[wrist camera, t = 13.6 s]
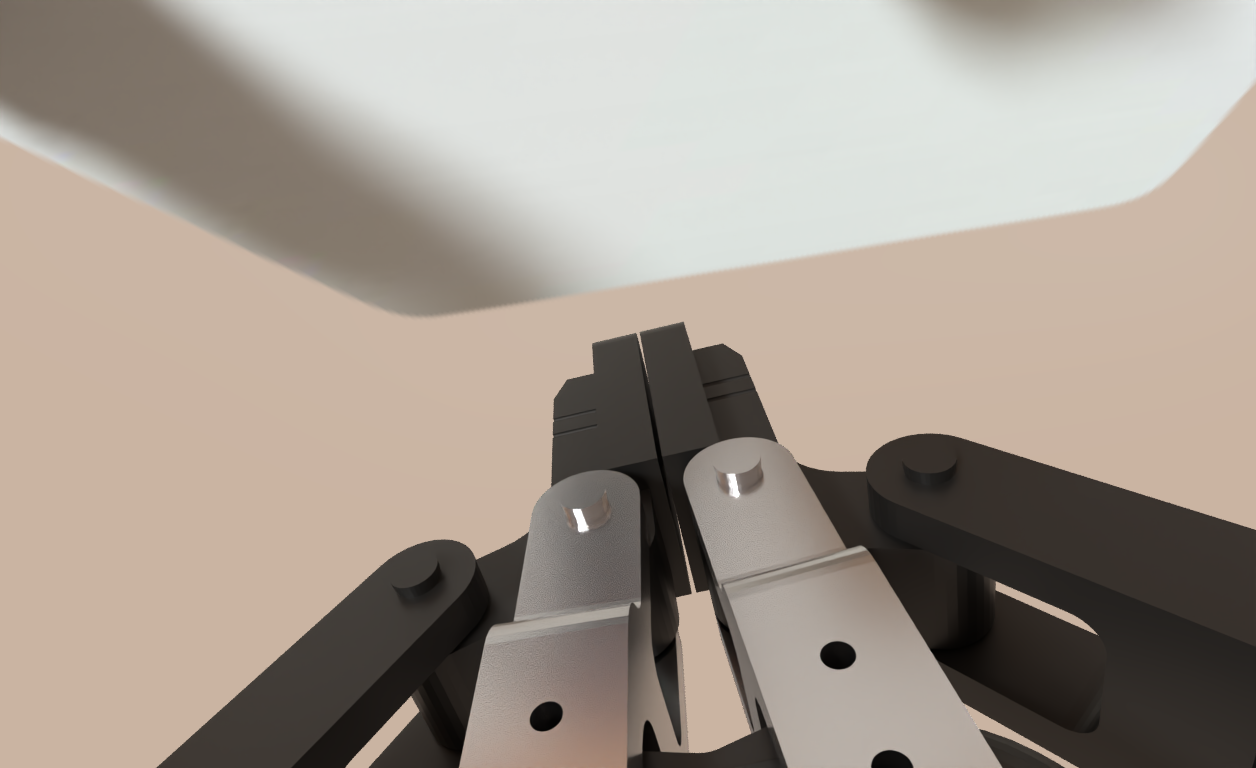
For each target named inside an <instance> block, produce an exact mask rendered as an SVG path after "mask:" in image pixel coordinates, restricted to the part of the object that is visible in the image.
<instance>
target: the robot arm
mask: <svg viewBox="0 0 1256 768" xmlns="http://www.w3.org/2000/svg"><path fill="white" fill-rule="evenodd" d="M640 336H641V342H642V347H643V353H644V358H645V363H646V369H647V374H646V370H645V365H644V362H643V358H642V353H641V349H640V345H639V341H638V338H637V334H636V333H634V334H630V335H626V336H621V337H617V338H613V339H609V340H604V341H600V342H596V343H593V344H592V349H593V365H594V374H590V375H586V376H582V377H577V378H573V379H569V380H567V381H566V382H565V384H564V385H563V387H562V388H561V390H560V391H559V393H558V394H557V396H556V397H555V399H554V415H553V419H554V422H553V436H554V438H553V448H552V483H551V488H550V489H548V490H547V491H546V492H545V493H544V494H543V495H542V496H541V498H540V499H539V500H538V501H537V503H536V505H535V507H534V509H533V513H532V517H531V523H530V529H529V532H528V533H527V534H525V535H524V536H523V537H521V538H520V539H518V540H516V541H515V542H513V543H511V544H509V545H507V546H505V547H503V548H501V549H499V550H496V551H494V552H492V553H490V554H488V555H486V556H484V557H481V558H479V559H477V560H476V559H475V557H474V555H473V553H472V551H471V550H470V549H469V548H468V547H467V546H466V545H464V544H462V543H460V542H457V541H453V540H433V541H428V542H424V543H421V544H417V545H415V546H413V547H410V548H407V549H406V550H403V551H402V552H400V553H398V554H396V555H395V556H393V557H392V558H390V559H389V560H388V561H386V562H385V563H384V564H383V565H381V566H380V567H379V568H378V569H377V570H376V571H375V572H374V573H373V574H372V575H370V576H369V577H368V578H367V579H366V580H365V581H364V582H363V583H362V584H360V585H359V586H358V587H357V588H356V589H355V590H354V591H353V592H352V593H350V594H349V595H348V596H347V597H346V598H345V599H344V600H343V601H341V603H339V604H338V605H337V606H336V607H335V608H334V609H333V610H331V611H330V612H329V613H328V614H327V615H326V616H325V617H324V618H323V619H321V620H320V621H319V622H318V623H317V624H316V625H315V626H314V627H313V628H311V629H310V630H309V631H308V632H307V633H306V634H305V635H304V636H302V638H300V639H299V640H298V641H297V642H296V643H295V644H294V645H292V646H291V647H290V648H289V649H288V650H287V651H286V652H285V653H284V654H283V655H281V656H280V657H279V658H278V659H277V660H276V661H275V662H274V663H273V664H271V665H270V666H269V667H268V668H267V669H266V670H265V671H264V672H263V673H262V674H261V675H259V676H258V677H257V678H256V679H255V680H254V681H252V682H251V683H250V684H249V685H248V686H247V687H246V688H245V689H244V690H242V691H241V692H240V693H239V694H238V695H237V696H236V697H235V698H234V699H233V700H231V701H230V702H229V703H228V704H227V705H226V706H225V707H223V708H222V709H221V710H220V711H219V712H218V713H217V714H216V715H215V716H213V717H212V718H211V719H210V720H209V721H208V722H207V723H206V724H205V725H203V726H202V727H201V728H200V729H199V730H198V731H197V732H196V733H195V734H193V735H192V736H191V737H190V738H189V739H188V740H187V741H186V742H185V743H184V744H182V745H181V746H180V747H179V748H178V749H177V750H176V751H175V752H173V753H172V755H170V756H169V757H168V758H167V759H166V760H165V761H163V762H162V763H161V764H160V765H159V766H158V767H157V768H345V767H346V766H347V765H348V763H349V762H350V761H351V760H352V758H354V756H355V755H356V754H357V753H358V752H359V751H360V750H361V749H362V748H363V747H364V746H365V745H366V744H367V743H368V741H369V740H370V739H371V738H372V737H373V736H374V735H375V734H376V733H377V732H378V731H379V730H380V728H381V727H382V726H383V725H384V724H385V723H386V722H387V721H388V720H389V719H390V718H391V717H392V716H393V714H394V713H395V712H396V711H397V710H398V709H399V708H400V707H401V706H402V705H403V704H404V703H405V702H406V701H407V700H408V698H409V697H410V696H412V698H413V700H414V702H415V704H416V705H417V707H418V709H419V711H420V712H419V713H418V714H417V715H416V716H415V717H414V718H413V719H412V720H411V722H410V723H409V724H408V725H407V726H406V727H405V728H404V729H403V730H402V731H401V733H400V734H399V735H398V736H397V737H396V738H395V739H394V740H393V741H392V742H391V743H390V745H389V746H388V747H387V748H386V749H385V750H384V751H383V752H382V754H381V755H380V756H379V757H378V758H377V759H376V760H375V761H374V762H373V763H372V765H371V766H370V767H369V768H1064V767H1063V766H1061V765H1059V764H1058V763H1056V762H1054V761H1052V760H1051V759H1049V758H1047V757H1045V756H1044V755H1042V754H1040V753H1038V752H1036V751H1034V750H1032V749H1030V748H1028V747H1025V746H1023V745H1021V744H1019V743H1017V742H1015V741H1013V740H1010V739H1007V738H1004V737H1002V736H999V735H996V734H993V733H990V732H988V731H985V730H980V729H978V727H977V726H976V724H975V722H974V721H973V719H972V718H971V716H970V714H969V713H968V711H967V709H966V708H965V706H964V705H963V703H964V704H966V705H968V706H970V707H972V708H973V709H975V710H977V711H979V712H980V713H982V714H984V715H986V716H988V717H989V718H991V719H993V720H995V721H997V722H998V723H1000V724H1002V725H1004V726H1005V727H1007V728H1009V729H1011V730H1013V731H1014V732H1016V733H1018V734H1020V735H1021V736H1024V737H1025V738H1027V739H1029V740H1030V741H1032V742H1034V743H1036V744H1038V745H1039V746H1041V747H1043V748H1045V749H1046V750H1048V751H1050V752H1052V753H1054V754H1055V755H1057V756H1059V757H1061V758H1062V759H1064V760H1066V761H1068V762H1070V763H1071V764H1073V765H1075V766H1077V767H1079V768H1256V530H1254V529H1251V528H1248V527H1244V526H1241V525H1238V524H1235V523H1231V522H1228V521H1225V520H1222V519H1218V518H1216V517H1212V516H1209V515H1206V514H1203V513H1199V512H1196V511H1193V510H1190V509H1186V508H1183V507H1180V506H1177V505H1174V504H1171V503H1167V502H1164V501H1161V500H1158V499H1155V498H1151V497H1148V496H1145V495H1142V494H1138V493H1135V492H1132V491H1129V490H1125V489H1122V488H1119V487H1116V486H1113V485H1110V484H1107V483H1103V482H1100V481H1097V480H1093V479H1090V478H1087V477H1084V476H1081V475H1077V474H1074V473H1071V472H1068V471H1065V470H1062V469H1058V468H1055V467H1052V466H1049V465H1046V464H1042V463H1039V462H1036V461H1033V460H1030V459H1026V458H1023V457H1020V456H1017V455H1014V454H1010V453H1007V452H1003V451H1001V450H998V449H994V448H991V447H988V446H984V445H981V444H978V443H975V442H972V441H969V440H965V439H962V438H959V437H955V436H950V435H943V434H917V435H910V436H905V437H902V438H898V439H896V440H893V441H890V442H889V443H887V444H885V445H883V446H882V447H880V448H879V449H878V450H876V451H875V452H874V454H873V455H872V456H871V457H870V459H869V461H868V463H867V467H866V472H834V471H824V470H818V469H814V468H809V467H807V466H804V465H801V464H799V463H797V462H796V460H795V459H794V457H793V455H792V454H791V453H790V451H789V450H787V449H786V448H785V447H784V446H782V445H780V444H779V443H778V442H777V439H776V437H775V434H774V432H773V430H772V427H771V425H770V422H769V420H768V417H767V415H766V413H765V410H764V408H763V406H762V403H761V401H760V398H759V396H758V393H757V392H756V389H755V386H754V384H753V381H752V379H751V377H750V375H749V372H748V369H747V367H746V364H745V362H744V360H743V357H742V356H741V355H740V354H738V353H737V352H735V351H734V350H732V349H731V348H729V347H727V346H726V345H724V344H719V345H714V346H710V347H706V348H701V349H697V350H693V351H692V348H691V345H690V342H689V338H688V335H687V332H686V329H685V325H684V322H681V323H676V324H672V325H668V326H664V327H659V328H656V329H651V330H647V331H643V332H640ZM647 375H648V377H647ZM648 380H649V382H648ZM677 517H678V518H677ZM678 521H679V524H678ZM679 525H680V529H681V533H682V537H683V540H684V545H685V549H686V552H687V556H688V560H689V565H690V568H691V573H692V576H693V580H694V585H695V588H696V592H701V591H706V590H709V591H710V595H711V599H712V603H713V607H714V611H715V615H716V619H717V624H718V628H719V632H720V636H721V640H722V643H723V646H724V650H725V653H726V656H727V659H728V662H729V665H730V668H731V671H732V674H733V678H734V681H735V684H736V687H737V690H738V693H739V696H740V699H741V702H742V706H743V709H744V712H745V715H746V718H747V721H748V724H749V727H750V731H751V734H750V735H748V736H745V737H743V738H741V739H739V740H737V741H735V742H733V743H730V744H728V745H726V746H724V747H722V748H720V749H717V750H715V751H712V752H707V753H689V746H688V731H687V717H686V716H687V715H686V700H685V686H684V669H683V654H682V644H681V640H680V636H679V632H678V626H679V613H678V607H677V602H676V597H679V596H684V595H689V594H691V588H690V582H689V577H688V571H687V566H686V561H685V555H684V551H683V545H682V540H681V534H680V529H679ZM996 581H997V582H999V583H1002V584H1004V585H1006V586H1008V587H1011V588H1013V589H1015V590H1018V591H1020V592H1022V593H1025V594H1027V595H1029V596H1032V597H1034V598H1036V599H1039V600H1041V601H1043V602H1045V603H1048V604H1050V605H1053V606H1055V607H1057V608H1059V609H1062V610H1064V611H1066V612H1068V613H1070V614H1073V615H1075V616H1076V617H1078V618H1080V619H1081V620H1083V621H1084V622H1085V623H1087V624H1088V625H1089V626H1090V627H1091V628H1092V629H1093V630H1094V631H1095V632H1096V633H1097V634H1098V635H1099V636H1098V635H1096V634H1093V633H1091V632H1089V631H1087V630H1084V629H1082V628H1080V627H1078V626H1075V625H1073V624H1071V623H1068V622H1066V621H1064V620H1061V619H1059V618H1057V617H1055V616H1052V615H1050V614H1048V613H1046V612H1043V611H1041V610H1039V609H1037V608H1034V607H1032V606H1030V605H1028V604H1025V603H1023V602H1021V601H1019V600H1016V599H1014V598H1012V597H1010V596H1007V595H1005V594H1003V593H1000V592H998V591H996V590H995V586H996V583H995V582H996ZM962 702H963V703H962Z"/></svg>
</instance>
